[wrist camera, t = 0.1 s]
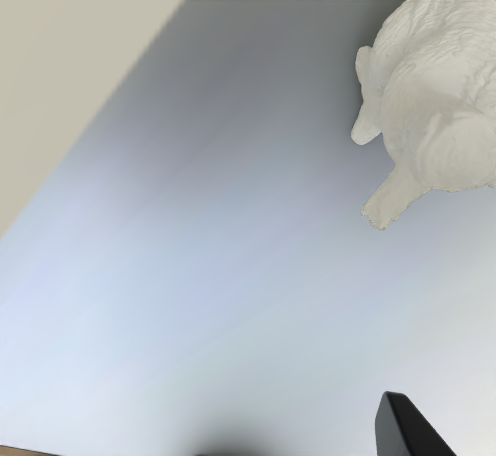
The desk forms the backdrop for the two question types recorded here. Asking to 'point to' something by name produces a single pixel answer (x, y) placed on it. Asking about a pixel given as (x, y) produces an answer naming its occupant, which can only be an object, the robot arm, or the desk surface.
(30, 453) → the standards
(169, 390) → the desk surface
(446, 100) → the koala figurine
